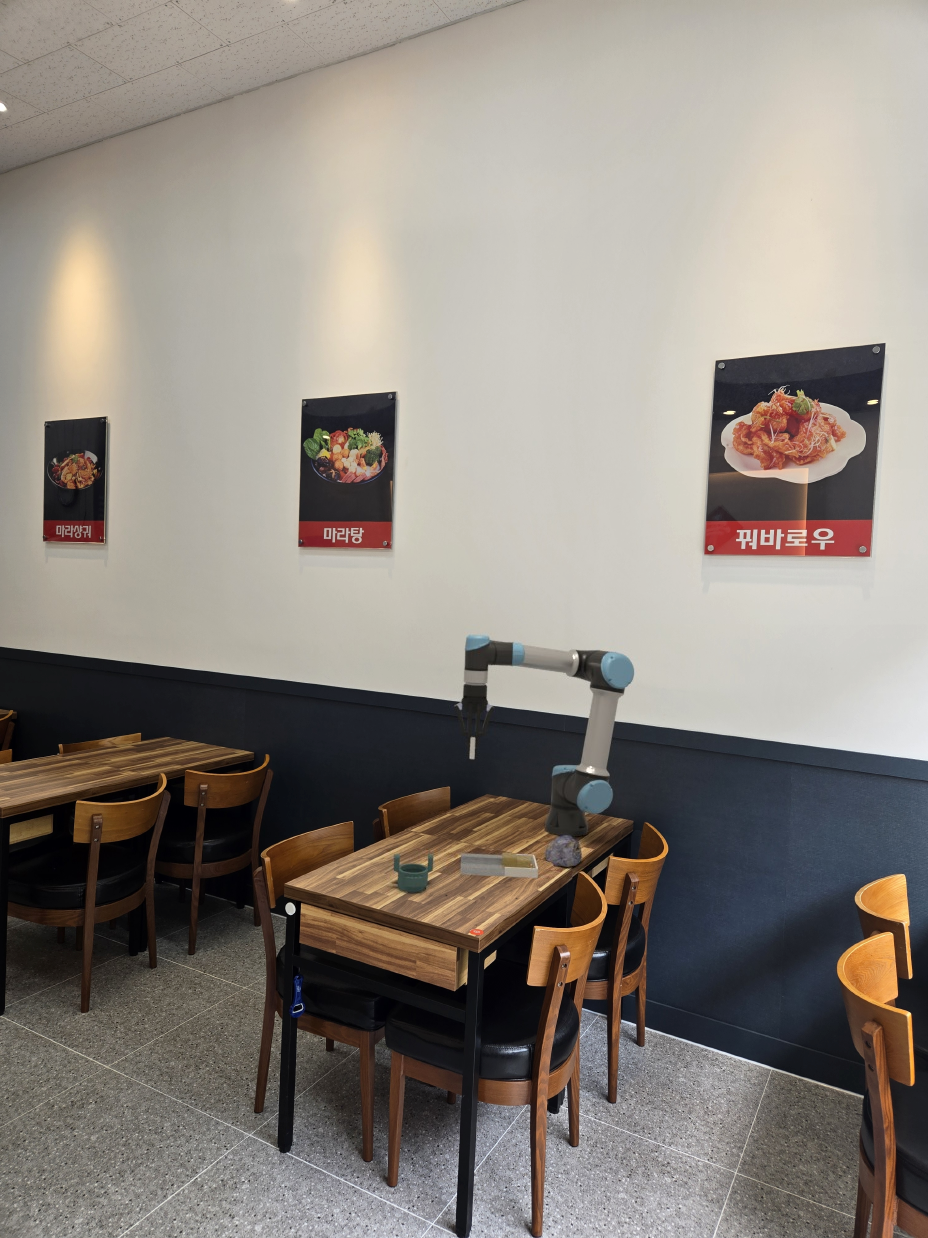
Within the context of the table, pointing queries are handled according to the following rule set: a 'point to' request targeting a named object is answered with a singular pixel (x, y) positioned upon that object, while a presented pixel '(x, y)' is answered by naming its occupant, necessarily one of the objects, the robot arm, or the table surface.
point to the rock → (564, 851)
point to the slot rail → (482, 864)
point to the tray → (523, 869)
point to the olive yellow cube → (509, 859)
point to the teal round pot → (412, 875)
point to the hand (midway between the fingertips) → (471, 758)
